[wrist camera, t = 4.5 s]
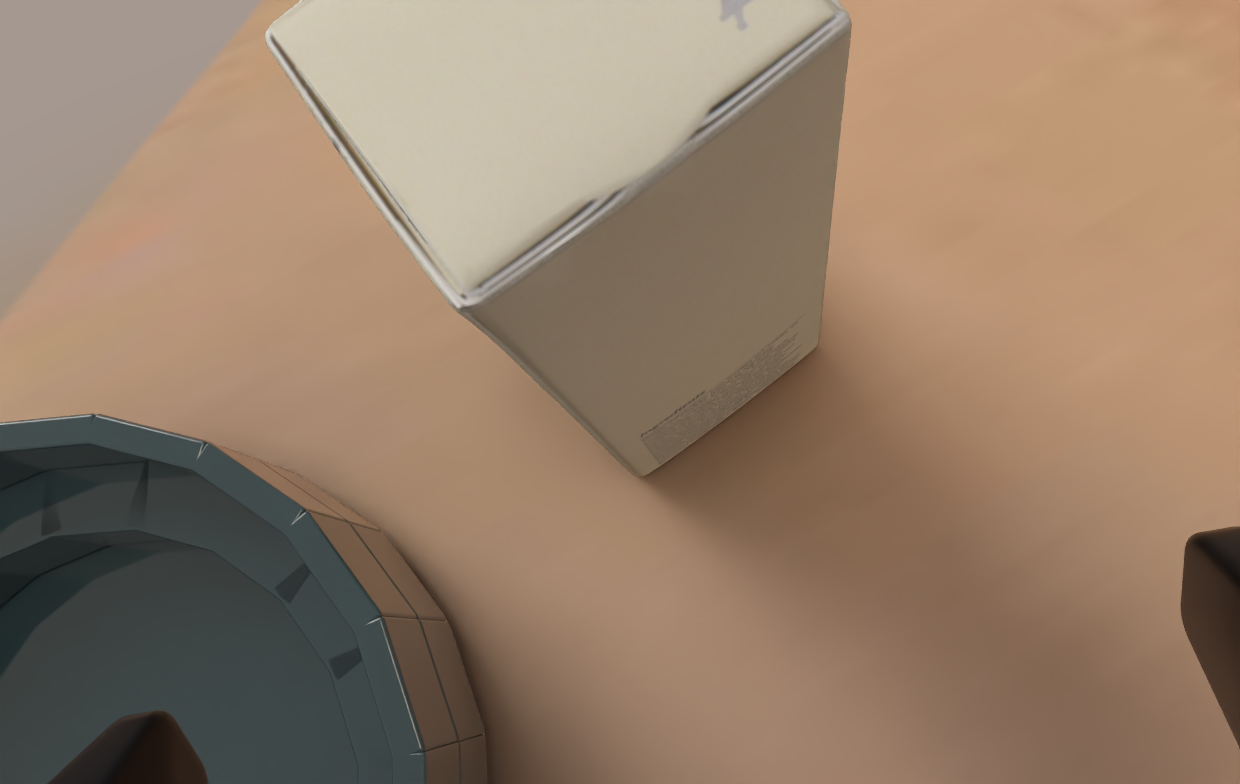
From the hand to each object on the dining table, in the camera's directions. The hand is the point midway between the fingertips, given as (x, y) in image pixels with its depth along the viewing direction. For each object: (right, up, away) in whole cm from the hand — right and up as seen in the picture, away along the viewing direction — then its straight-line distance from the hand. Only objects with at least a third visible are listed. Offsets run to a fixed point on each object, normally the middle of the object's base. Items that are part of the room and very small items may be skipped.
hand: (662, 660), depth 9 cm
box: (+1, +3, +14) cm, 15 cm away
